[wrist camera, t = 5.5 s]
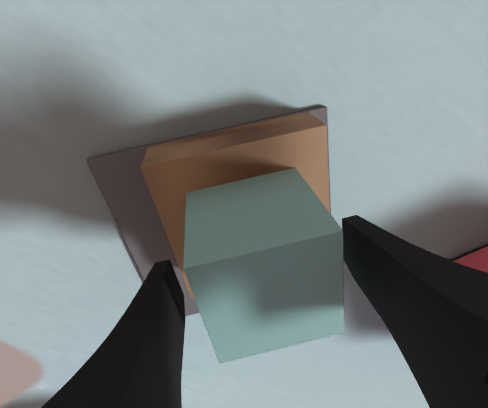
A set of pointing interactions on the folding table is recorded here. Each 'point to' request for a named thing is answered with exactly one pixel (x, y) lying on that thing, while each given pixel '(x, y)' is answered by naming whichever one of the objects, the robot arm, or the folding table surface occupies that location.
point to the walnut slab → (233, 165)
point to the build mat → (149, 205)
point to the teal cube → (264, 264)
